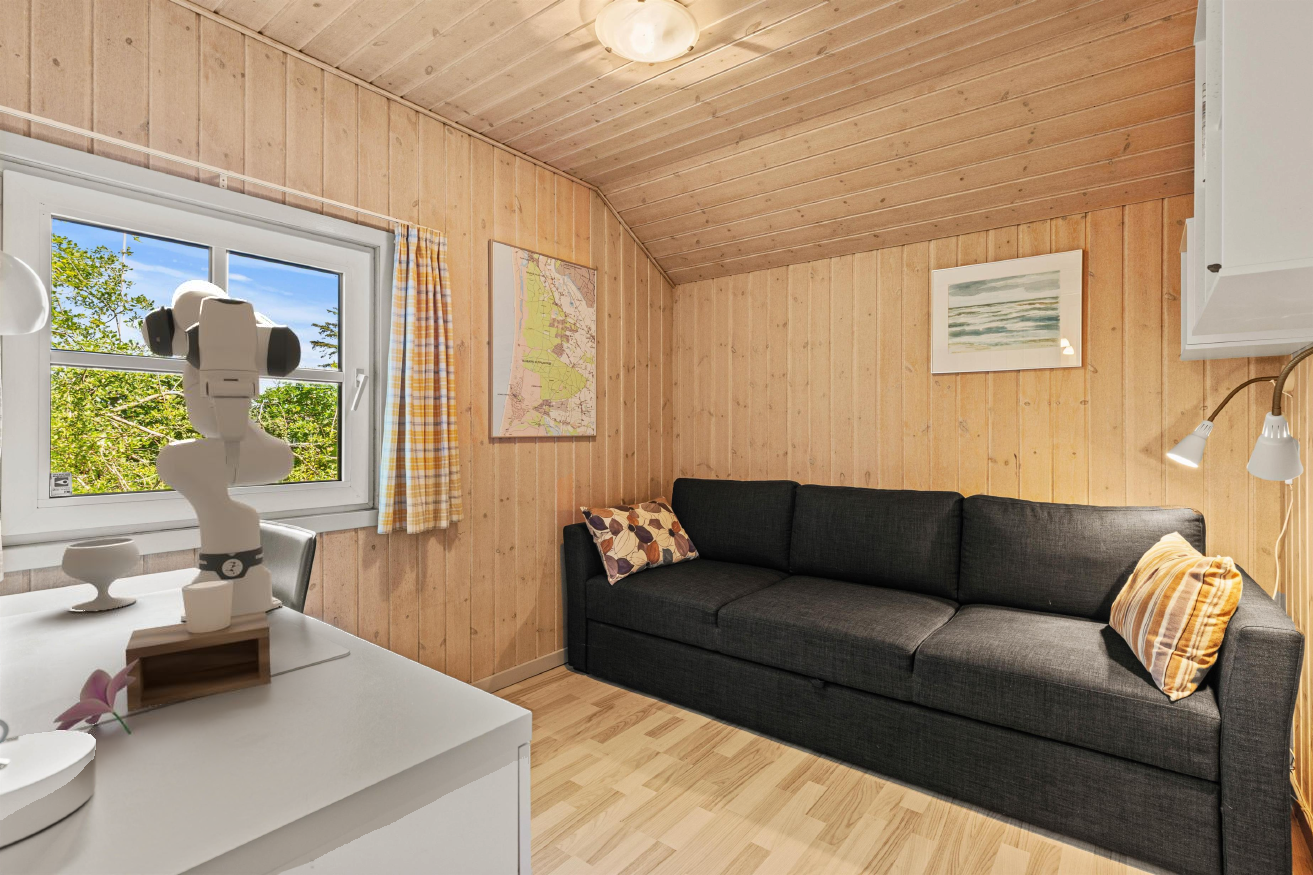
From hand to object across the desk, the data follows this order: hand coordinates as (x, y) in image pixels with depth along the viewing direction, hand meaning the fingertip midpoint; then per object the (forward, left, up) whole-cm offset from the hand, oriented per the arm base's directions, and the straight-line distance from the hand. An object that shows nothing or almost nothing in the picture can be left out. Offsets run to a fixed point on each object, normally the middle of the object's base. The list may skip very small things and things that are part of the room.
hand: (232, 466), depth 116 cm
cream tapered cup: (+11, -4, -25) cm, 28 cm away
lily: (+23, -16, -34) cm, 45 cm away
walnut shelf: (+11, -5, -34) cm, 36 cm away
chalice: (-61, -25, -34) cm, 74 cm away
